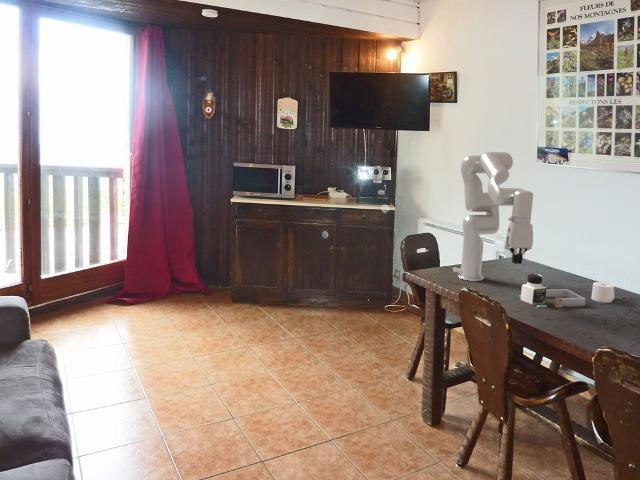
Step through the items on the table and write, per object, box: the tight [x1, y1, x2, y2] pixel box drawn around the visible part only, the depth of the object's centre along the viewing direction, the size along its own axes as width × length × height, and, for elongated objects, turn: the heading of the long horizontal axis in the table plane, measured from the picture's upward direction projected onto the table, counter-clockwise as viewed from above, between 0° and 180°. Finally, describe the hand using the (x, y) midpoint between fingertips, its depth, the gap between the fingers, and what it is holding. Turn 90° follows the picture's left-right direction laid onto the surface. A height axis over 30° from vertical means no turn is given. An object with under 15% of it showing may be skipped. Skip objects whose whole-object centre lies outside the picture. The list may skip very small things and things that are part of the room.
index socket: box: [545, 288, 586, 307], centre depth 241 cm, size 10×14×3 cm
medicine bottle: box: [520, 273, 547, 306], centre depth 238 cm, size 7×7×12 cm
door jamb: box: [553, 297, 563, 309], centre depth 240 cm, size 2×18×4 cm, turn 7°
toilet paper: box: [591, 281, 615, 304], centre depth 246 cm, size 8×11×7 cm
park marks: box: [519, 294, 548, 309], centre depth 239 cm, size 4×16×1 cm, turn 8°
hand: (516, 263), depth 235 cm, fingers closed
